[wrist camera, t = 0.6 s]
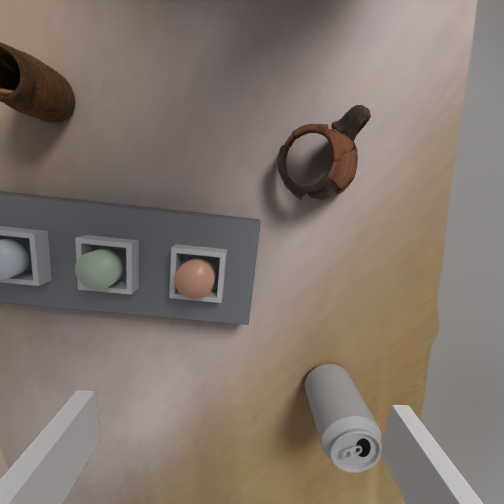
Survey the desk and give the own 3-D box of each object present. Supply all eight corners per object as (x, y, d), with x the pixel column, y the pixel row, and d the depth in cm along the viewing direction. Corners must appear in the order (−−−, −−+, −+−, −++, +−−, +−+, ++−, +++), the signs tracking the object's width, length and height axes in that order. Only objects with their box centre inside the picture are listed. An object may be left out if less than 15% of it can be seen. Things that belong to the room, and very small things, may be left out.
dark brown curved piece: (331, 214, 35) (315, 216, 28) (281, 177, 38) (256, 171, 31) (395, 133, 30) (395, 111, 23) (332, 97, 33) (314, 67, 26)
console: (-10, 190, 33) (-66, 189, 27) (258, 219, 35) (261, 224, 29) (2, 288, 36) (-45, 306, 30) (248, 311, 38) (248, 332, 32)
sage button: (85, 246, 29) (74, 250, 27) (123, 250, 29) (114, 254, 27) (87, 282, 30) (76, 288, 28) (123, 285, 30) (115, 291, 28)
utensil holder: (62, 62, 30) (-56, -22, 18) (86, 117, 31) (-9, 72, 20) (18, 79, 30) (-126, 8, 19) (44, 133, 32) (-75, 98, 20)
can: (350, 395, 42) (390, 474, 30) (306, 402, 42) (328, 483, 30) (346, 356, 40) (387, 424, 28) (300, 364, 40) (322, 434, 28)
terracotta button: (179, 256, 30) (175, 260, 28) (216, 259, 30) (214, 264, 28) (178, 290, 31) (173, 297, 29) (214, 294, 31) (211, 300, 29)
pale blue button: (-12, 236, 29) (-31, 240, 27) (27, 240, 29) (11, 244, 27) (-7, 273, 30) (-25, 278, 28) (30, 276, 30) (15, 282, 28)
